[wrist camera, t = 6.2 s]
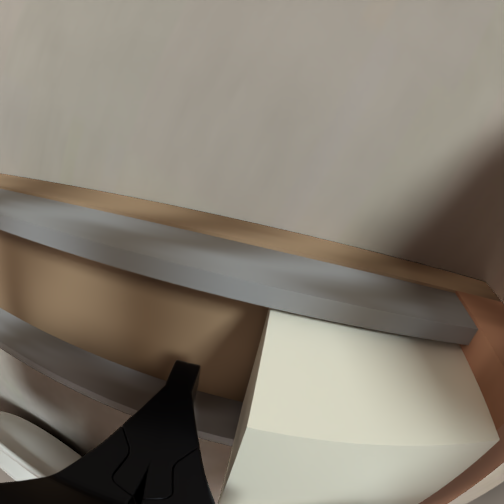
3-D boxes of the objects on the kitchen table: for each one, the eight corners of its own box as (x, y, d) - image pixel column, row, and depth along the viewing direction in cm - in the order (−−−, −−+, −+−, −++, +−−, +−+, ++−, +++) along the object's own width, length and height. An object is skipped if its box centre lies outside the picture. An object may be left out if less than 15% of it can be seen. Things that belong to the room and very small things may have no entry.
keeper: (446, 320, 9) (499, 440, 4) (376, 424, 12) (384, 524, 7) (275, 283, 9) (246, 427, 5) (242, 403, 12) (216, 510, 7)
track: (485, 281, 10) (565, 398, 4) (403, 410, 13) (420, 519, 8) (-16, 171, 11) (-111, 215, 6) (4, 296, 15) (-61, 356, 9)
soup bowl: (205, 497, 22) (188, 553, 17) (112, 501, 32) (97, 533, 26) (-13, 332, 18) (-61, 381, 12) (-18, 401, 27) (-41, 430, 21)
